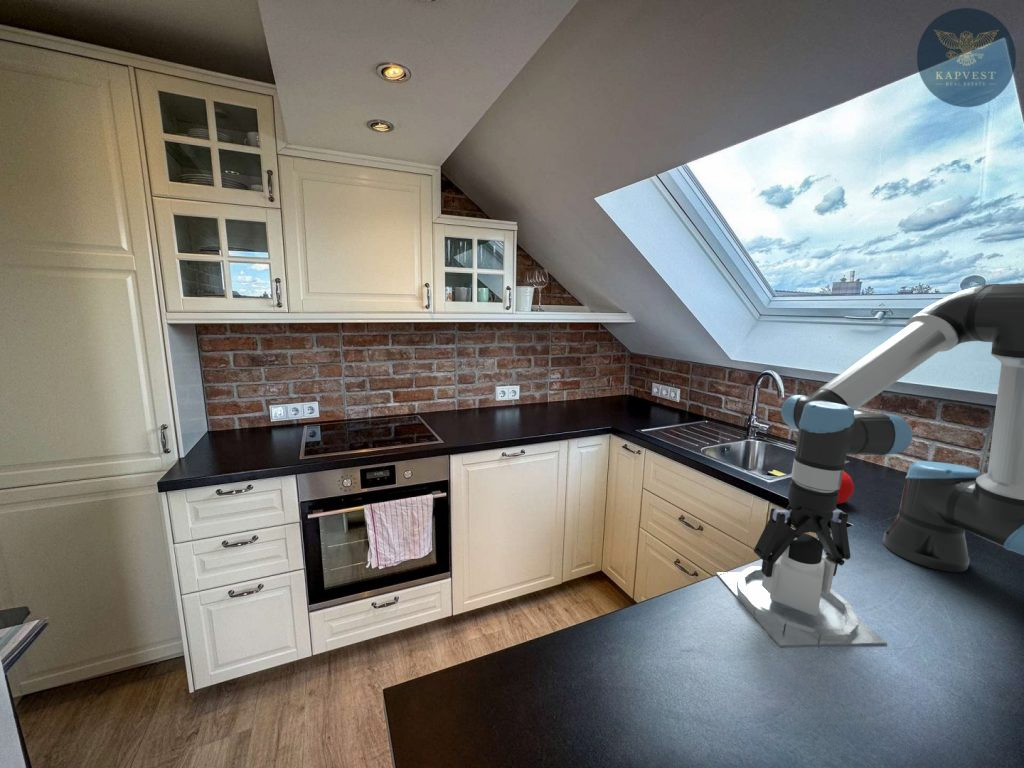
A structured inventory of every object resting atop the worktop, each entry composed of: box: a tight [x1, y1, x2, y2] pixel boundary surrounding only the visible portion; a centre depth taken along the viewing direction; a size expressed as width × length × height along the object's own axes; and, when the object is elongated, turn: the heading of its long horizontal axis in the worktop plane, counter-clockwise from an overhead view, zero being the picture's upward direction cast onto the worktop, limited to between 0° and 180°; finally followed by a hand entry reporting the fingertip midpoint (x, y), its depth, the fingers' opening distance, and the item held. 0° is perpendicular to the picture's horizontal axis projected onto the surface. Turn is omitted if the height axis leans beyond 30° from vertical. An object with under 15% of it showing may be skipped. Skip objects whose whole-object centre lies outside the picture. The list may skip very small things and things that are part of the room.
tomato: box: [837, 470, 855, 505], centre depth 131 cm, size 12×13×11 cm
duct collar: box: [716, 565, 888, 648], centre depth 83 cm, size 20×20×2 cm
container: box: [770, 533, 825, 616], centre depth 82 cm, size 8×8×13 cm
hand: (795, 589), depth 82 cm, fingers closed on container, 11 cm apart
